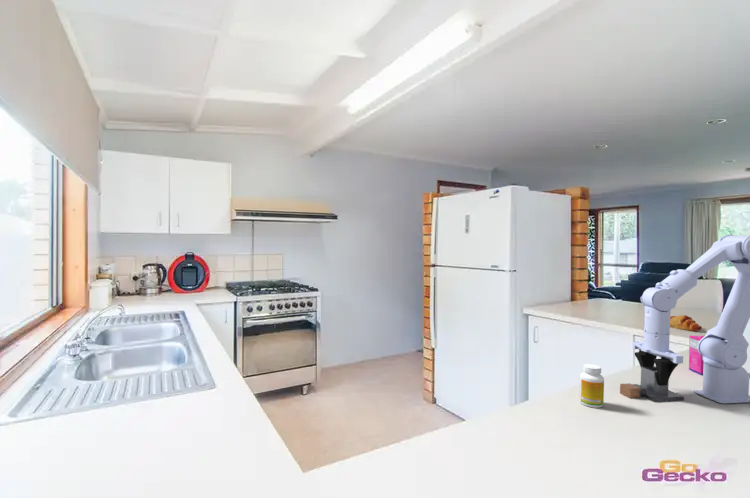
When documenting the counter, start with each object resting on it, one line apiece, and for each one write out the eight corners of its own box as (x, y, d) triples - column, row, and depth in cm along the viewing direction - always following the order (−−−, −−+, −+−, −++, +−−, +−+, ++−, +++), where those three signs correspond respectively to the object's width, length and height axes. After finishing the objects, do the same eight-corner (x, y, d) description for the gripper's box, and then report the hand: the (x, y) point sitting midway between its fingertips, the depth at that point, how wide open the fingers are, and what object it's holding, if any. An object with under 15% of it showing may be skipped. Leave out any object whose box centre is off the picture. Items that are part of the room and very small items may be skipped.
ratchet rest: (655, 387, 115) (655, 375, 115) (683, 400, 106) (684, 387, 106) (612, 389, 113) (613, 377, 113) (638, 402, 104) (638, 389, 104)
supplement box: (706, 370, 132) (708, 335, 132) (720, 376, 127) (721, 339, 126) (687, 369, 133) (689, 334, 133) (700, 375, 127) (701, 339, 127)
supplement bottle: (606, 409, 100) (607, 370, 99) (582, 407, 101) (584, 368, 100) (599, 400, 105) (600, 363, 105) (576, 398, 106) (577, 362, 106)
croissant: (659, 330, 209) (653, 316, 209) (676, 321, 210) (669, 307, 209) (695, 339, 188) (688, 324, 187) (713, 329, 188) (706, 314, 188)
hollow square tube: (654, 387, 113) (655, 366, 112) (668, 393, 108) (668, 371, 108) (640, 388, 112) (641, 366, 112) (653, 394, 108) (654, 371, 107)
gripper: (623, 326, 116) (621, 373, 117) (666, 339, 102) (664, 392, 102) (644, 326, 117) (643, 372, 118) (691, 338, 103) (689, 391, 103)
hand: (654, 381), depth 110 cm, fingers closed on hollow square tube, 4 cm apart
